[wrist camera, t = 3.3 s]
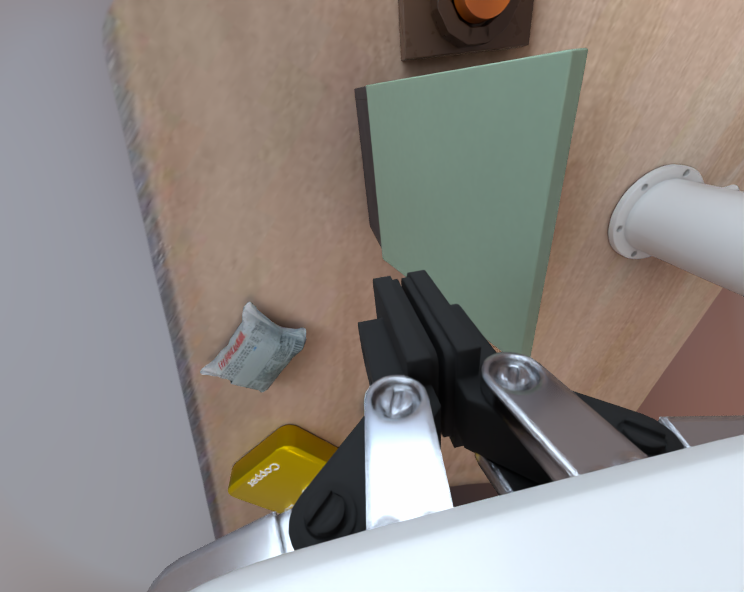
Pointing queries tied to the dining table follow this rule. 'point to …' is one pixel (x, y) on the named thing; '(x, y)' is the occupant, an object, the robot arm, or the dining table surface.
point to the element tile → (279, 468)
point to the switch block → (459, 29)
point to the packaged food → (256, 351)
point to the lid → (477, 182)
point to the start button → (479, 9)
